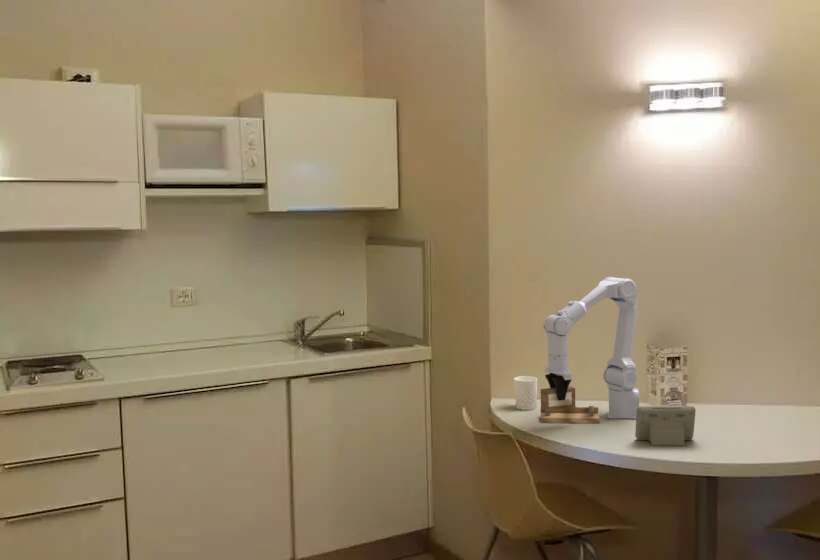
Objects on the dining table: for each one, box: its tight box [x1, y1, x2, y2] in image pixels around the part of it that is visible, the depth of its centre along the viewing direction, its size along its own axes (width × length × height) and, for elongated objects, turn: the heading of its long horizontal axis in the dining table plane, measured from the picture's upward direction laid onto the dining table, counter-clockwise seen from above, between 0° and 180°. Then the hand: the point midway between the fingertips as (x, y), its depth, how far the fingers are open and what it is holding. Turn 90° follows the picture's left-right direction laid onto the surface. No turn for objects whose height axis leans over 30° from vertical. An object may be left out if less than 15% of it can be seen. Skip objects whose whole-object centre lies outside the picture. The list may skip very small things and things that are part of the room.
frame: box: [540, 385, 576, 411], centre depth 243 cm, size 10×3×6 cm, turn 104°
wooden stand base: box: [539, 405, 600, 424], centre depth 251 cm, size 18×7×4 cm, turn 80°
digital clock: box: [634, 405, 697, 446], centre depth 225 cm, size 16×9×11 cm, turn 71°
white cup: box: [513, 375, 538, 411], centre depth 267 cm, size 8×8×10 cm
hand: (558, 398), depth 243 cm, fingers closed on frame, 3 cm apart
